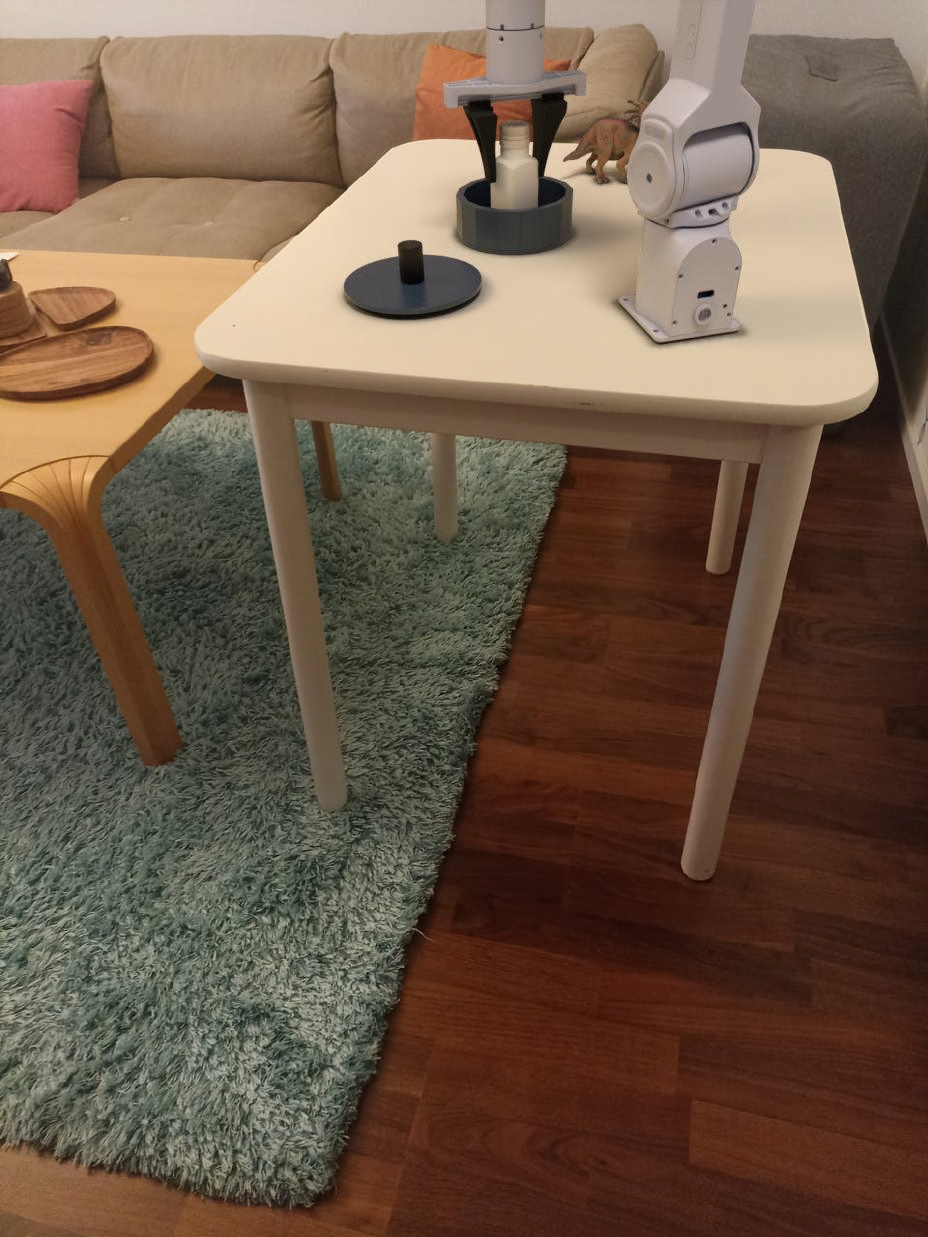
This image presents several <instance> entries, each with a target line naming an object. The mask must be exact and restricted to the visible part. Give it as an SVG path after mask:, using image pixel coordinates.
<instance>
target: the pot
mask: <svg viewBox="0 0 928 1237" xmlns="http://www.w3.org/2000/svg"><path fill="white" fill-rule="evenodd" d="M455 204H456V206H455V207H456V208H455V209H456V228H457V230H456V232H457V234H458V239H459V241H460V242H461V243H462V244H463V245H464V246H466V247H467V248H470V249H473V250H475V251H479V252H481V253H488V254H494V255H507V256H510V255H528V254H530V255H531V254H535V253H541V252H546V251H549V250H552V249H555V248H557V247H560V246H562V245H563V244H565V243H566V242H567V241H568V240H569V239H570V238H571V235H572V226H573V209H574V208H573V204H574V188H573V187H572V186H571V185H570V184H569V183H568V182H566V181H564V180H560V179H557V178H555V177H551V176H546V175H544V177H538V207H534V208H526V209H495V208H491V183H489V182H488V181H487V180H486V179H485V177H482V178H479V179H475V180H471V181H469V182H467V183H466V184H464V185H462V186H461V187H459V188H458V190H457V192H456V194H455Z"/></svg>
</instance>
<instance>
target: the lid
mask: <svg viewBox="0 0 928 1237" xmlns="http://www.w3.org/2000/svg"><path fill="white" fill-rule="evenodd" d="M423 246H424V245H423V243H422V241H420V240H416V239H405V240H402V241H399V243H398V244H397V256H391V257H386V258H382V259H379V260H375V261H372V262H369V263H367V264H364V265H362V266H360V267H357V268H356V269H355V270H353V271H352V272H351V273H349V274H348V275H347V277H346V278H345V280H344V282H343V291H344V296H345V297H346V299H347V300H348V301H349V302H351V303H352V304H353V305H355V306H357V307H359V308H362V309H364V310H367V311H370V312H375V313H380V314H388V315H422V314H430V313H435V312H439V311H445V310H447V309H451V308H454V307H457V306H459V305H462V304H464V303H465V302H467V301H469V300H471V299H472V298H474V297H475V296H476V295H477V294H478V293H479V292H480V290H481V289H482V285H483V284H482V283H483V278H482V274H481V272H480V270H479V269H478V268H476V266H474V265H473V264H471V263H469V262H467V261H464V260H462V259H459V258H456V257H451V256H446V255H439V254H424V248H423Z"/></svg>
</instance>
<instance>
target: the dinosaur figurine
mask: <svg viewBox="0 0 928 1237" xmlns="http://www.w3.org/2000/svg"><path fill="white" fill-rule="evenodd" d="M651 102H652V101H649V102H648V101H645V100H643V99H642V100H641V99H640V100H638V101H637V100H631V99H629V100H627V101H626V103H627V104H632V105H633V106H635V107H636V108H630V109H628V110H626V111H624V112H623V113H624V114H633V115H631V116H630V117H628V118H627V119H625V118H622V117H621V118H620V117H615V116H614V117H606V118H601V119H598V120H596V121H594V122H592V124H590V126H588V127H587V129H586V130H585V131H584V134H583V136H581V138H580V141H579V143H578V144H577V146H576V148H575V149H574V150H573V151H571V152H570V153H568V154H567V155H566V156H564V158H563V159H562V162H563V163H565V162H568V161H577V160H579V159H581V158H582V157H585V156H586V155H588V154H590V156H589V157H588V158H587V159H586V161H585V171H586V172H587V173H591V174H596V179H597V183H598V184H599V185H600V184H603V183H604V184H607V183H608V182H609V181H610V180H611V179H610V178H609V177H608V176H606V174H605V173H604V171H603V168H604V167H605V166H606V164H607V163H608V161H609V162H615V161H616V163H615V166H616V170H617V171H618V173H619V175H620V181H621V183H624V184H628V182H627V171H626V166H628V162H629V158H630V155H631V152H632V150H633V148H634V146H635V144H636V142H637V139H638V136H639V132H640V127H638V126H636V125H635V124H636V123H637V122H638V124H641V116H642V114H643V112H644V111H645V110H646V108H647V107H648V106H649V104H650V103H651ZM632 120H634V123H632V122H630V121H632ZM596 161H597V162H596ZM594 162H596V165H595V167H593V164H594Z"/></svg>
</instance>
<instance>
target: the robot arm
mask: <svg viewBox="0 0 928 1237" xmlns="http://www.w3.org/2000/svg"><path fill="white" fill-rule="evenodd" d="M756 3H757V0H679V2H678V9H677V17H676V24H675V31H674V39H673V47H672V53H671V61H670V67H669V68H670V69H669V76H668V80H667V82H666V84H665V85H664V86H663V87H662V89H661V90H660V91H659V92H658V93H657V95H656V96H655V97H654V98H653V99H652V101H650V102H651V103H650V104H649V106H648V107H647V108H646V110H645V111H644V112H643V114H642V116H641V123H640V126H639V129H640V132H639V136H638V139H637V142H636V144H635V146H634V148H633V150H632V152H631V155H630V158H629V162H628V164H627V171H626V175H627V176H626V177H627V182H628V183H627V188H628V192H629V195H630V198H631V200H632V203H633V205H634V206H635V208H636V210H637V215H638V216H641V217H643V221H642V228H641V239H640V241H641V242H640V248H639V249H640V250H639V260H638V269H637V277H636V278H637V279H636V287H635V288H636V289H635V293H634V294H626V295H621V296H619V297H618V303H619V304H620V305H621V306H622V307H623V309H625V310H626V311H627V313H628V314H629V315H630V316H631V317H632V318H633V319H634V320H635V321H636V322H637V323H638V324H639V326H641V328H642V329H643V330H644V331H645V332H646V333H647V334H648V335H649V336H650V337H651V338H652V339H653V340H654V341H655V342H657V343H666V342H673V341H679V340H686V339H691V338H699V337H707V336H712V335H718V334H726V333H732V332H737V331H739V329H740V326H741V325H740V323H738V322H737V321H736V320H735V319H734V318H733V315H734V310H735V304H736V298H737V294H738V290H739V289H738V288H739V283H740V278H741V272H742V266H743V256H742V252H741V250H740V248H739V245H738V244H737V243H736V242H735V240H734V238H733V237H732V235H731V229H730V218H731V213H732V212H734V211H736V210H737V209H738V202H739V198H740V196H742V195H744V194H745V193H746V192H748V190H749V189H750V188H751V186H752V185H753V183H754V182H755V180H756V178H757V175H758V171H759V167H760V159H761V155H760V154H761V152H760V143H759V142H760V141H759V134H758V133H759V123H760V119H761V118H760V117H761V114H762V113H761V112H762V107H761V106H760V104H759V103H758V102H757V100H756V99H755V98H754V97H753V96H752V95H751V94H750V93H749V92H748V90H747V89H746V88H745V87H744V86H743V84H741V83H742V77H743V73H744V72H743V71H744V67H745V61H746V55H747V50H748V45H749V40H750V35H751V31H752V30H751V29H752V24H753V18H754V13H755V8H756ZM545 35H546V0H485V52H486V54H485V56H486V57H485V58H486V60H485V61H486V75H484V76H478V77H474V78H473V77H472V78H467V79H464V80H458V81H457V80H456V81H451V82H442V92H443V94H442V95H443V105H444V107H445V108H446V109H447V110H455V109H458V108H459V107H462V109H463V112H464V114H465V117H466V119H467V120H468V124H469V125H470V128H471V130H472V132H473V135H474V138H475V140H476V144H477V146H478V147H477V148H478V150H479V154H480V158H481V162H482V167H483V173H484V178H485V179H486V180H487V181H488V182H489V183H496V157H497V155H496V143H497V128H498V120H499V119H498V118H499V117H498V115H497V114H496V113H495V112H494V106H493V105H492V104H496V103H497V104H498V103H505V102H515V101H526V100H530V108H531V120H532V121H531V122H532V149H531V150H532V152H531V156H533V157H534V158H536V159H537V161H538V177H544V176H545V173H546V167H547V163H548V159H549V155H550V151H551V148H552V146H553V144H554V140H555V138H556V135H557V132H558V130H559V128H560V126H561V124H562V122H563V120H564V118H565V116H566V115H567V112H568V104H569V103H568V101H567V100H565V96H575V97H580V96H585V95H586V94H587V79H588V78H587V76H588V73H586V72H585V71H583V70H581V69H574V70H573V69H572V70H545V40H546V37H545Z"/></svg>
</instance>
